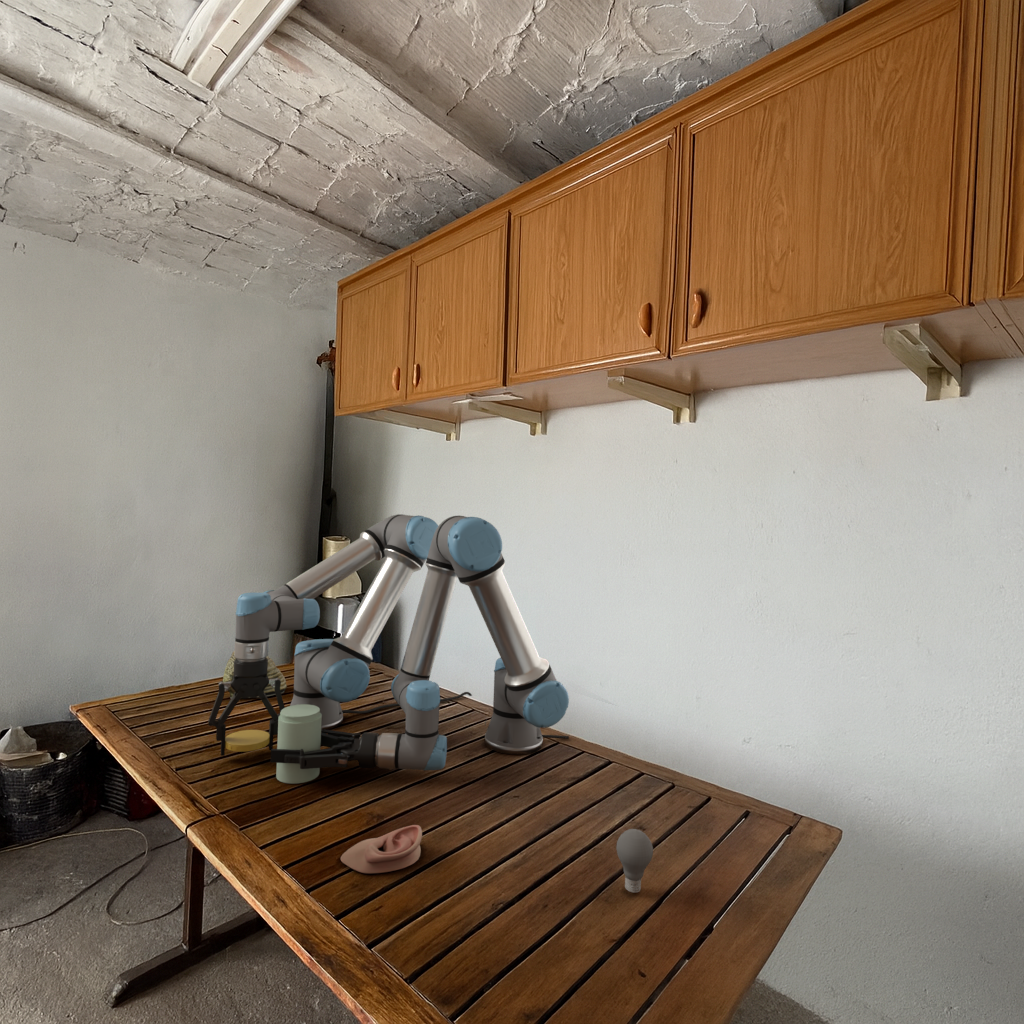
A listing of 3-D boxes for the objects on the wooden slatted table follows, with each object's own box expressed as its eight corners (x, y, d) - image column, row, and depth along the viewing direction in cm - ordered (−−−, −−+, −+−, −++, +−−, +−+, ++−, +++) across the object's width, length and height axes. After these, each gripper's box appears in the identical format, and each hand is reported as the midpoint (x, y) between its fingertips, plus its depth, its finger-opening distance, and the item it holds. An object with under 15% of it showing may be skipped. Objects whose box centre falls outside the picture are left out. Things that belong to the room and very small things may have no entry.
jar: (288, 764, 149) (291, 702, 149) (326, 768, 148) (328, 705, 147) (268, 781, 140) (270, 715, 140) (307, 785, 139) (310, 719, 138)
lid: (228, 754, 144) (228, 748, 144) (220, 740, 153) (220, 733, 153) (274, 747, 150) (274, 740, 150) (263, 733, 159) (264, 727, 158)
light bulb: (610, 879, 108) (613, 822, 108) (644, 879, 109) (647, 822, 109) (619, 902, 102) (622, 840, 102) (655, 901, 103) (658, 840, 103)
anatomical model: (332, 845, 108) (361, 813, 119) (331, 868, 108) (361, 834, 119) (406, 857, 105) (428, 823, 117) (405, 880, 106) (428, 844, 117)
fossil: (218, 695, 195) (220, 647, 195) (278, 685, 208) (279, 640, 207) (228, 703, 189) (230, 653, 188) (289, 692, 201) (290, 645, 201)
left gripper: (198, 665, 143) (193, 762, 143) (302, 659, 153) (298, 750, 153) (199, 657, 150) (194, 750, 150) (298, 651, 160) (294, 739, 160)
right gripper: (367, 788, 133) (260, 784, 133) (386, 747, 155) (294, 744, 155) (368, 753, 133) (261, 749, 133) (387, 717, 155) (295, 713, 155)
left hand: (246, 750), depth 152 cm, fingers closed on lid, 10 cm apart
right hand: (279, 746), depth 144 cm, fingers closed on jar, 9 cm apart
